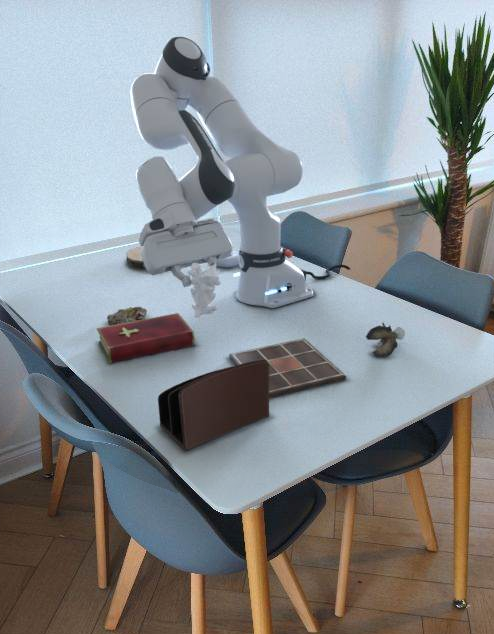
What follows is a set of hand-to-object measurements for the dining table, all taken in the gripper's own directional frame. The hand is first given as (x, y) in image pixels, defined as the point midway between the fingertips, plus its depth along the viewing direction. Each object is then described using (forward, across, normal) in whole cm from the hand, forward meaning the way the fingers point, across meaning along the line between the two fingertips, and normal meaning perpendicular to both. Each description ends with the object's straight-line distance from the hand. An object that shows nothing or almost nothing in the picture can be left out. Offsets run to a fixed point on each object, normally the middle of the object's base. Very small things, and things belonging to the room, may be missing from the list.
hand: (201, 281), depth 131 cm
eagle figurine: (+27, -39, -2) cm, 48 cm away
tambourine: (-36, -18, -63) cm, 75 cm away
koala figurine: (+5, 0, -5) cm, 7 cm away
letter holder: (+30, +11, +2) cm, 32 cm away
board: (+23, -13, -5) cm, 27 cm away
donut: (-24, -38, -52) cm, 69 cm away
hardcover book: (+2, +8, -26) cm, 27 cm away
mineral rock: (-9, +6, -37) cm, 38 cm away
